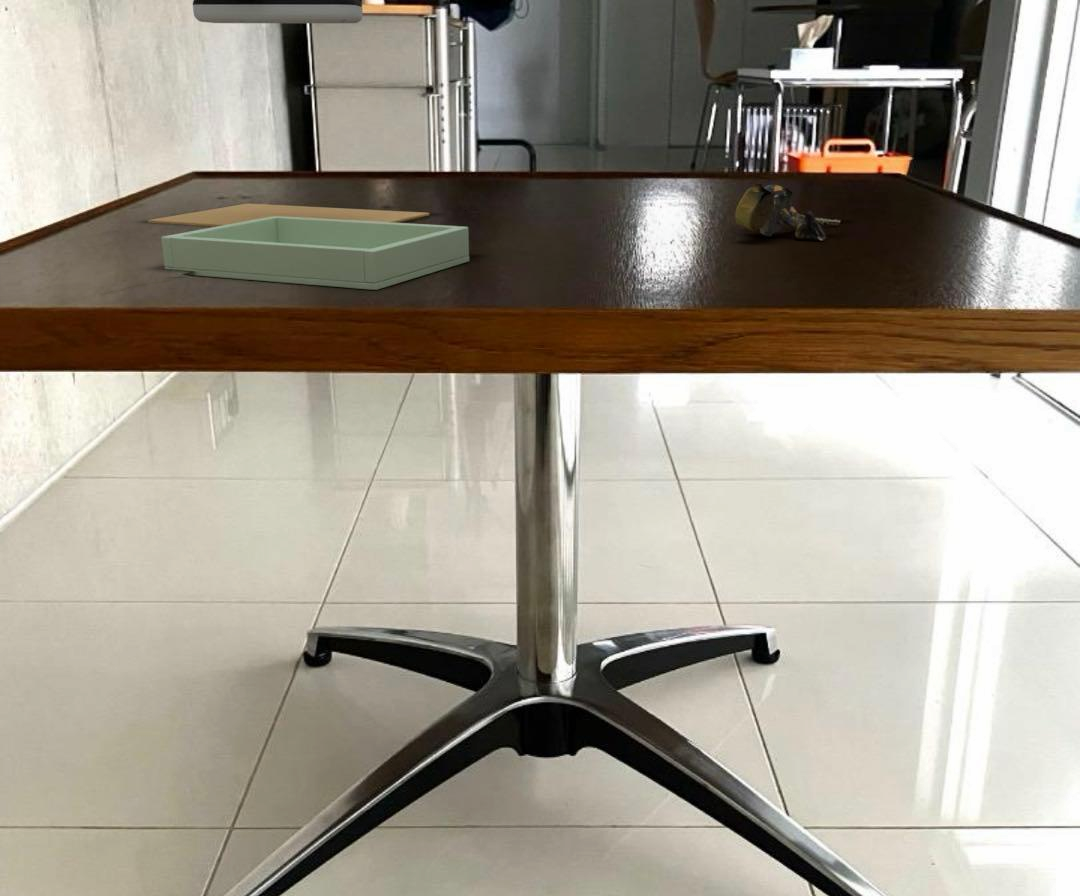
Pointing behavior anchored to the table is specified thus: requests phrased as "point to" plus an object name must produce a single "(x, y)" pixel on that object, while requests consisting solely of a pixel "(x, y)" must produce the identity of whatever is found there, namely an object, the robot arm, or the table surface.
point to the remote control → (278, 11)
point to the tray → (318, 251)
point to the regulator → (776, 213)
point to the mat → (284, 214)
